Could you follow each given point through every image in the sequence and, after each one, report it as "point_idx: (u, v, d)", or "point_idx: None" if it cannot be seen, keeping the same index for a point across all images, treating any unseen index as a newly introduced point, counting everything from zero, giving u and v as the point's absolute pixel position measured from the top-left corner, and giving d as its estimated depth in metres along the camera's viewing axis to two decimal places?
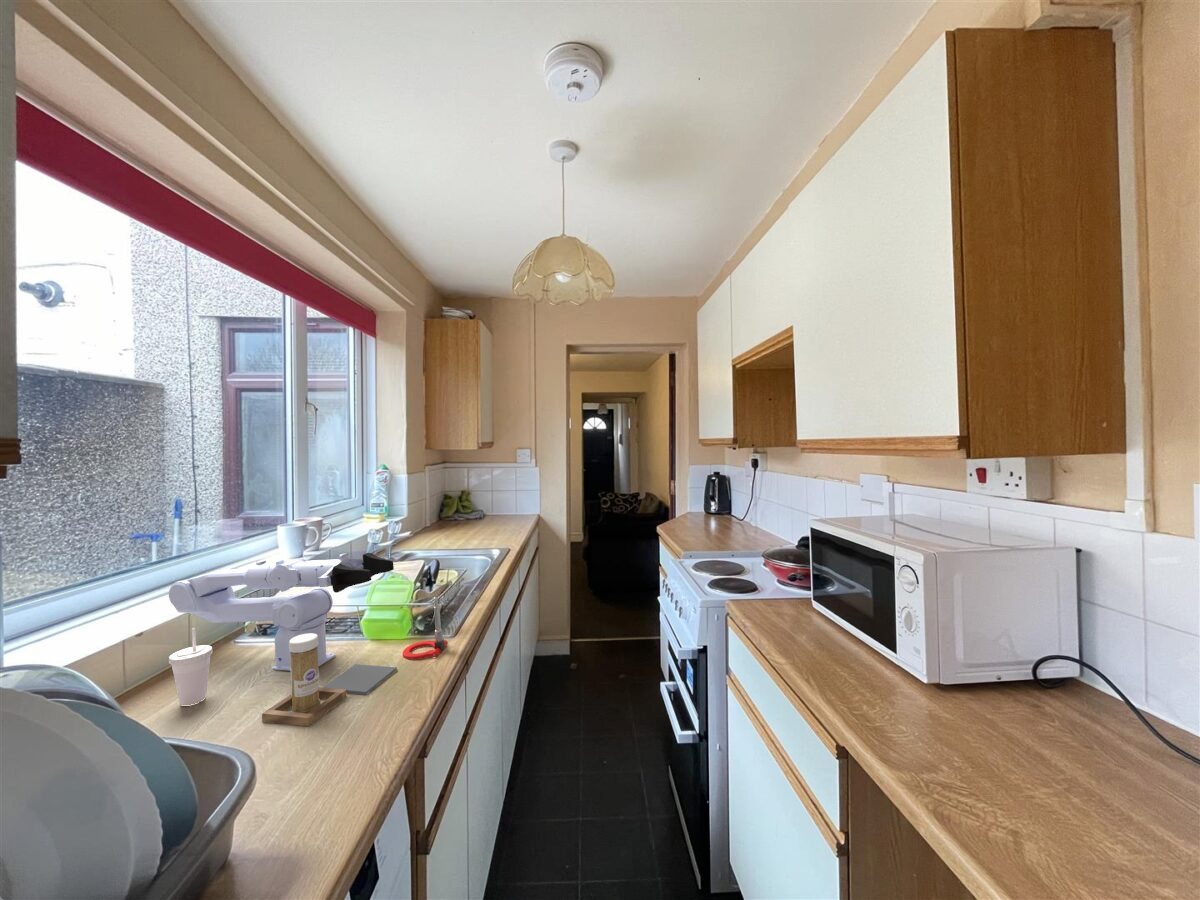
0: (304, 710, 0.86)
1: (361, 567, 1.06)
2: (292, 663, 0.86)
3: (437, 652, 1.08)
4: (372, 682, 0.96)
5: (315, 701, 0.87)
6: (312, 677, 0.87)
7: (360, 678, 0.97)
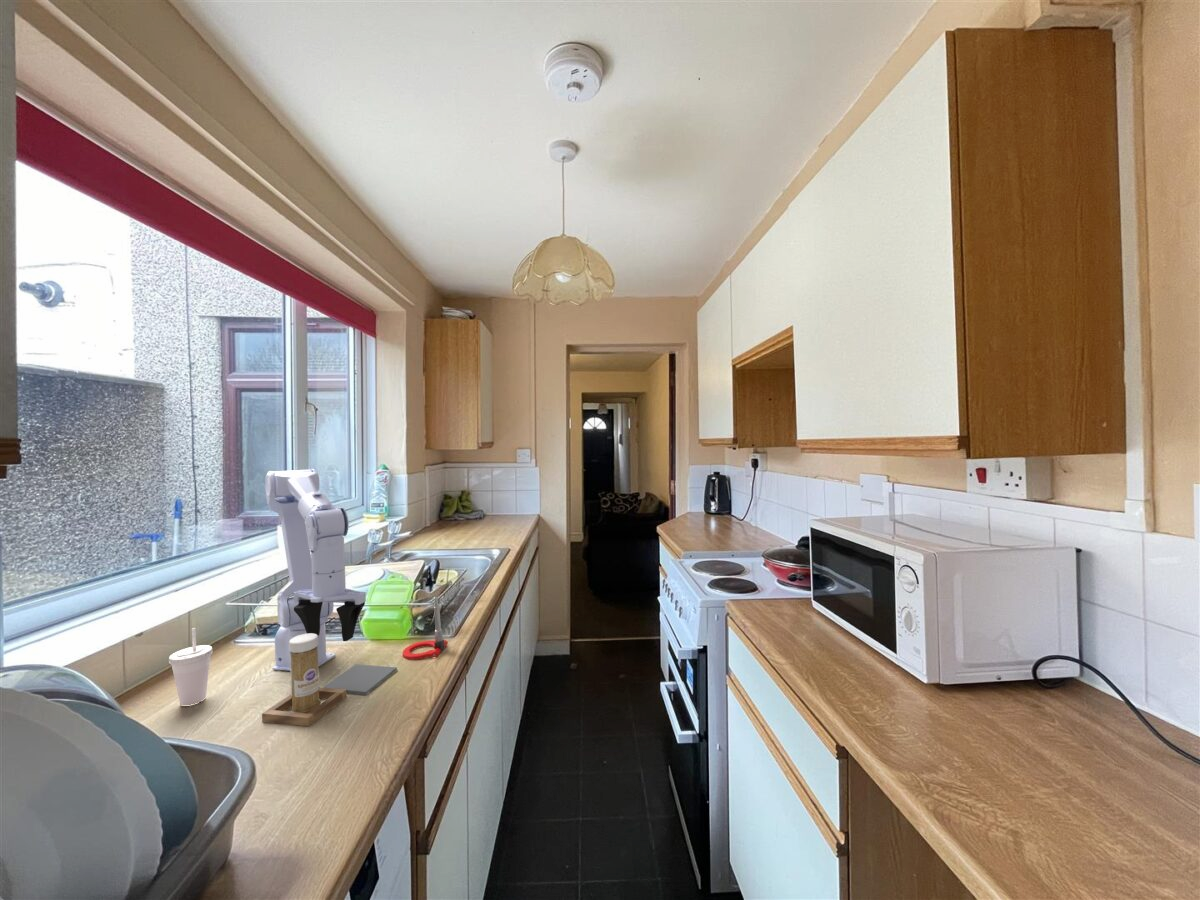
0: (304, 710, 0.86)
1: None
2: (292, 663, 0.86)
3: (437, 652, 1.08)
4: (372, 682, 0.96)
5: (315, 701, 0.87)
6: (312, 677, 0.87)
7: (360, 678, 0.97)
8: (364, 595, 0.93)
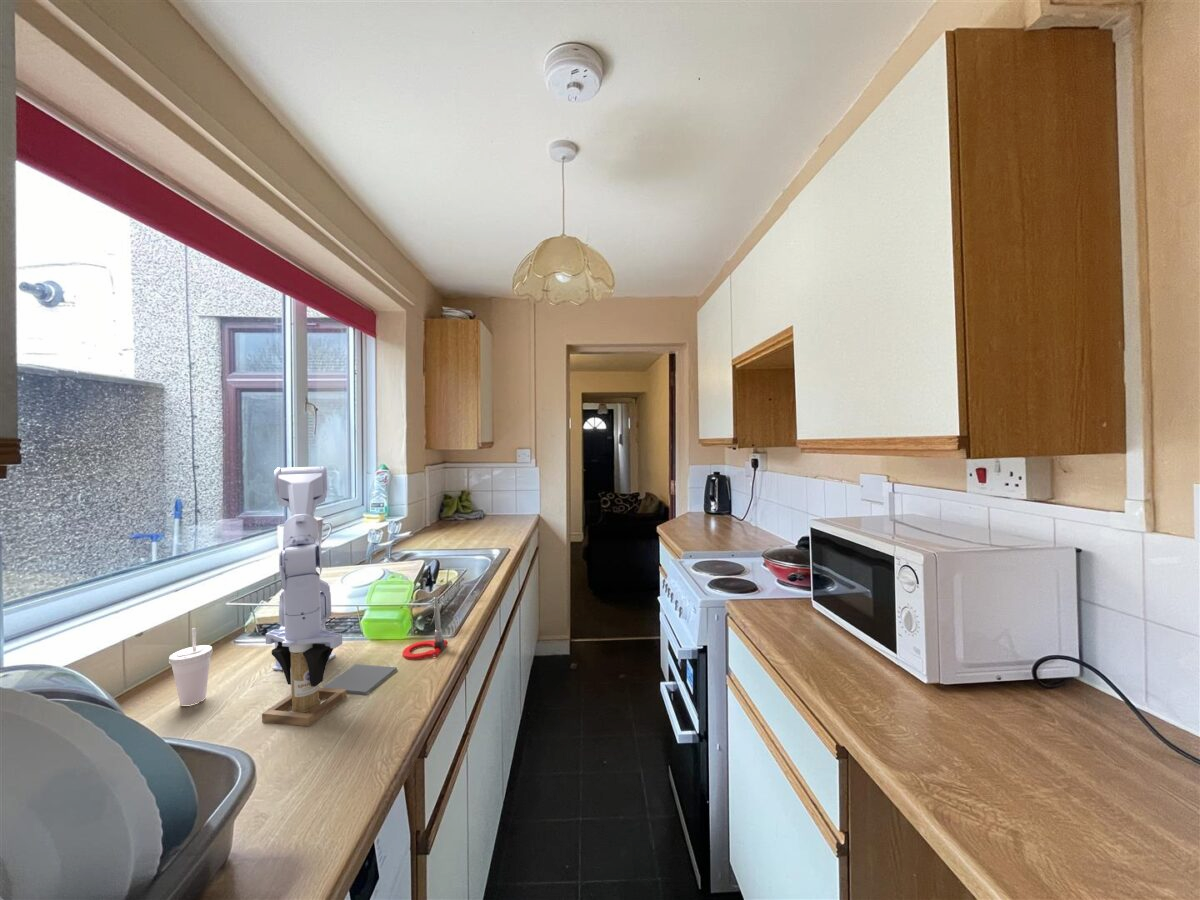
0: (304, 710, 0.86)
1: None
2: (292, 663, 0.86)
3: (437, 652, 1.08)
4: (372, 682, 0.96)
5: (315, 701, 0.87)
6: None
7: (360, 678, 0.97)
8: (340, 637, 0.87)
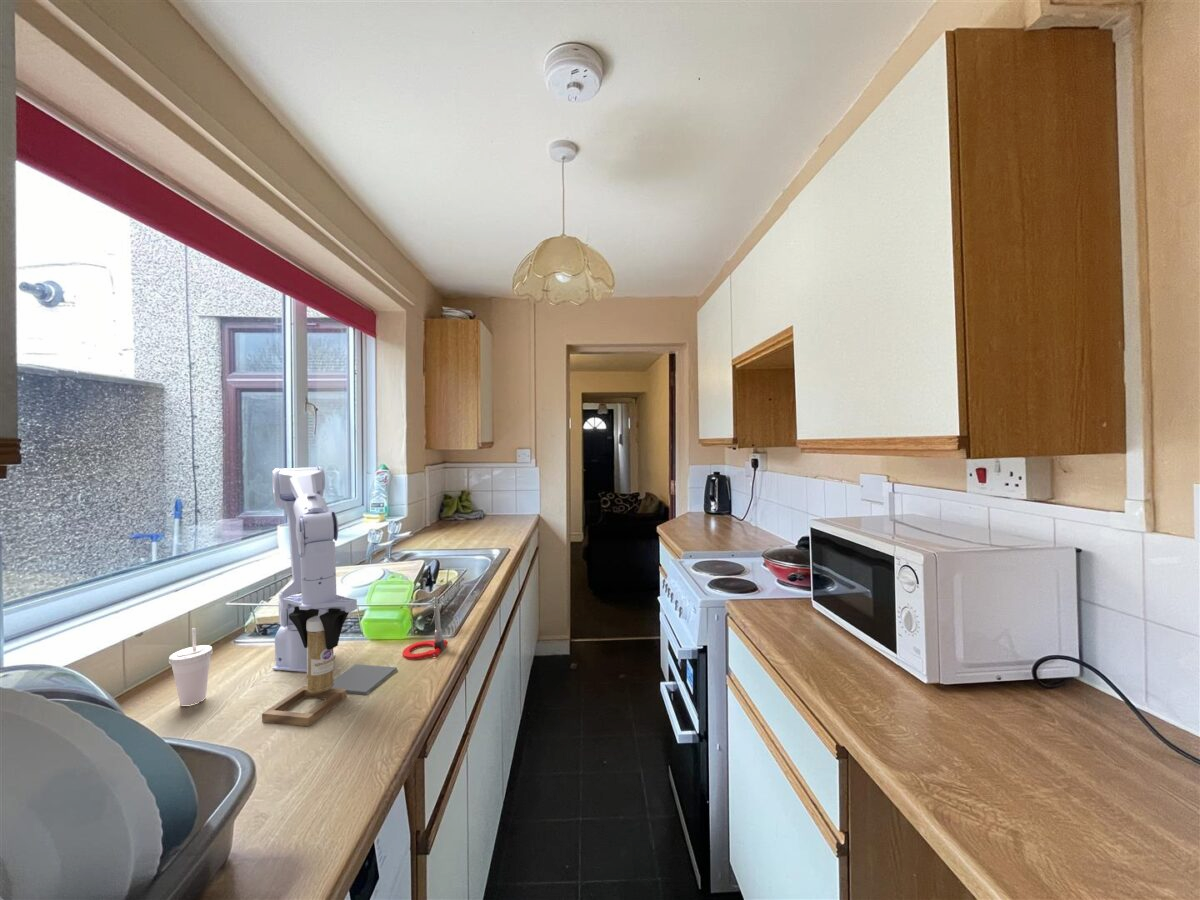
0: (320, 688, 0.88)
1: None
2: (309, 642, 0.88)
3: (437, 652, 1.08)
4: (372, 682, 0.96)
5: (330, 680, 0.90)
6: (328, 656, 0.90)
7: (360, 678, 0.97)
8: (355, 602, 0.89)
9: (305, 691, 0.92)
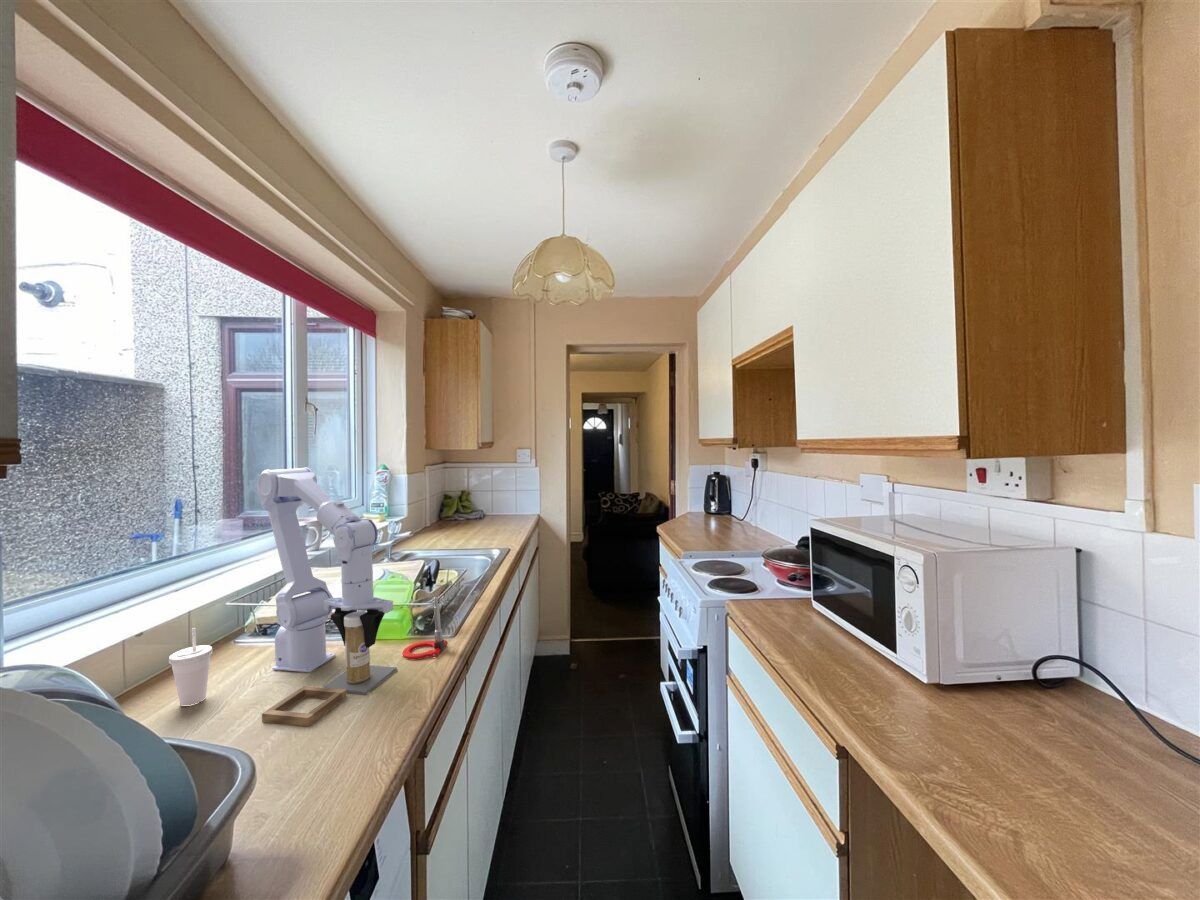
0: (359, 679, 0.95)
1: None
2: (347, 637, 0.95)
3: (437, 652, 1.08)
4: (372, 682, 0.96)
5: (367, 671, 0.97)
6: (365, 649, 0.96)
7: None
8: (391, 603, 0.97)
9: (305, 691, 0.92)
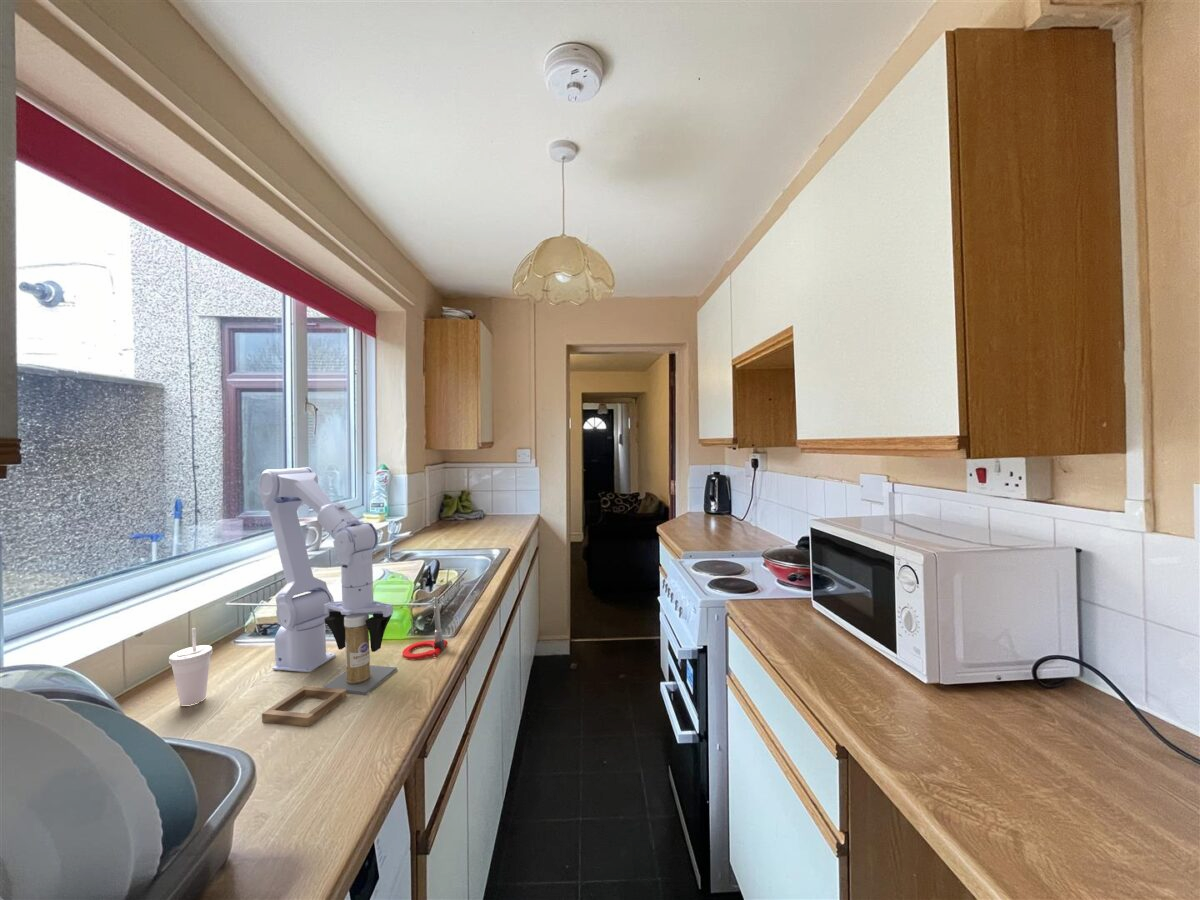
0: (359, 679, 0.95)
1: None
2: (347, 637, 0.95)
3: (437, 652, 1.08)
4: (372, 682, 0.96)
5: (367, 672, 0.97)
6: (365, 649, 0.96)
7: None
8: (391, 607, 0.97)
9: (305, 691, 0.92)
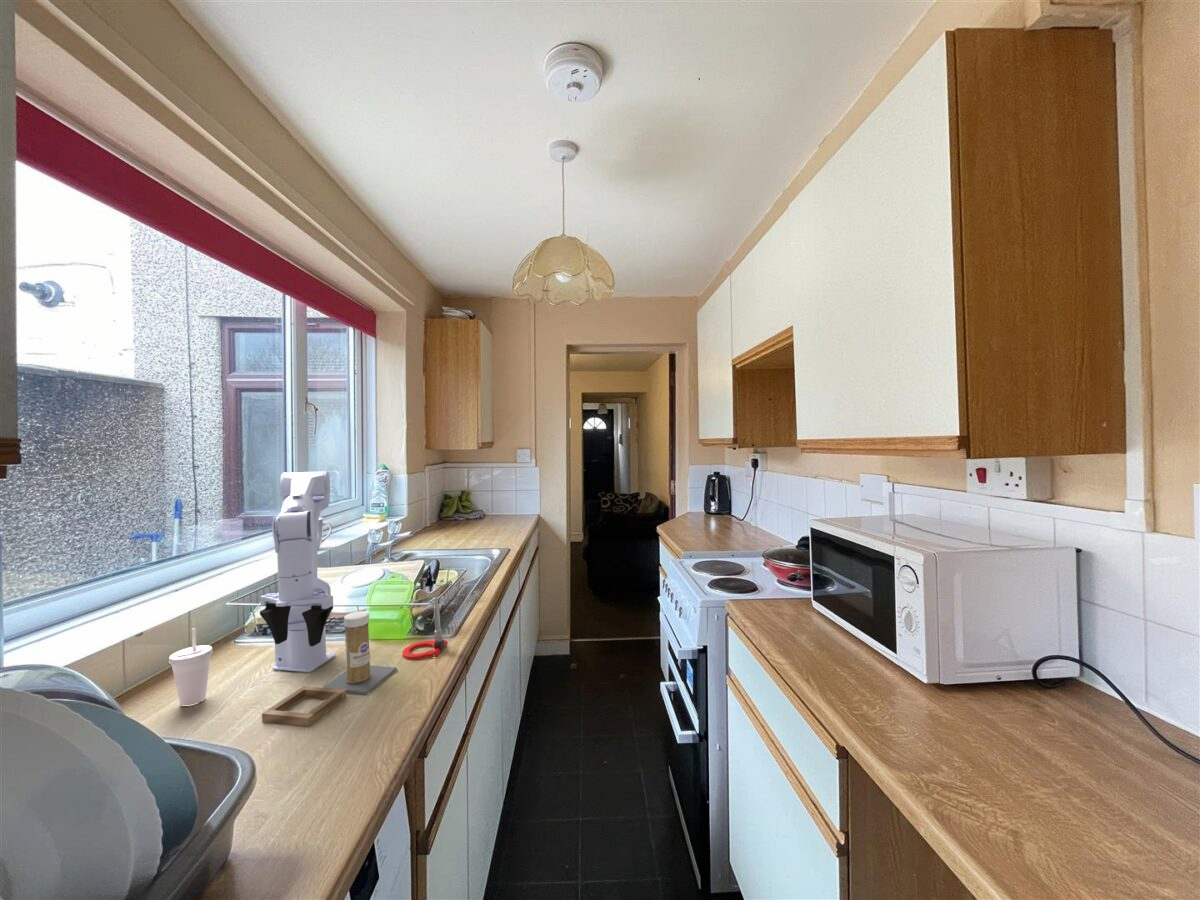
0: (359, 679, 0.95)
1: None
2: (347, 637, 0.95)
3: (437, 652, 1.08)
4: (372, 682, 0.96)
5: (367, 672, 0.97)
6: (365, 649, 0.96)
7: None
8: (331, 599, 0.91)
9: (305, 691, 0.92)
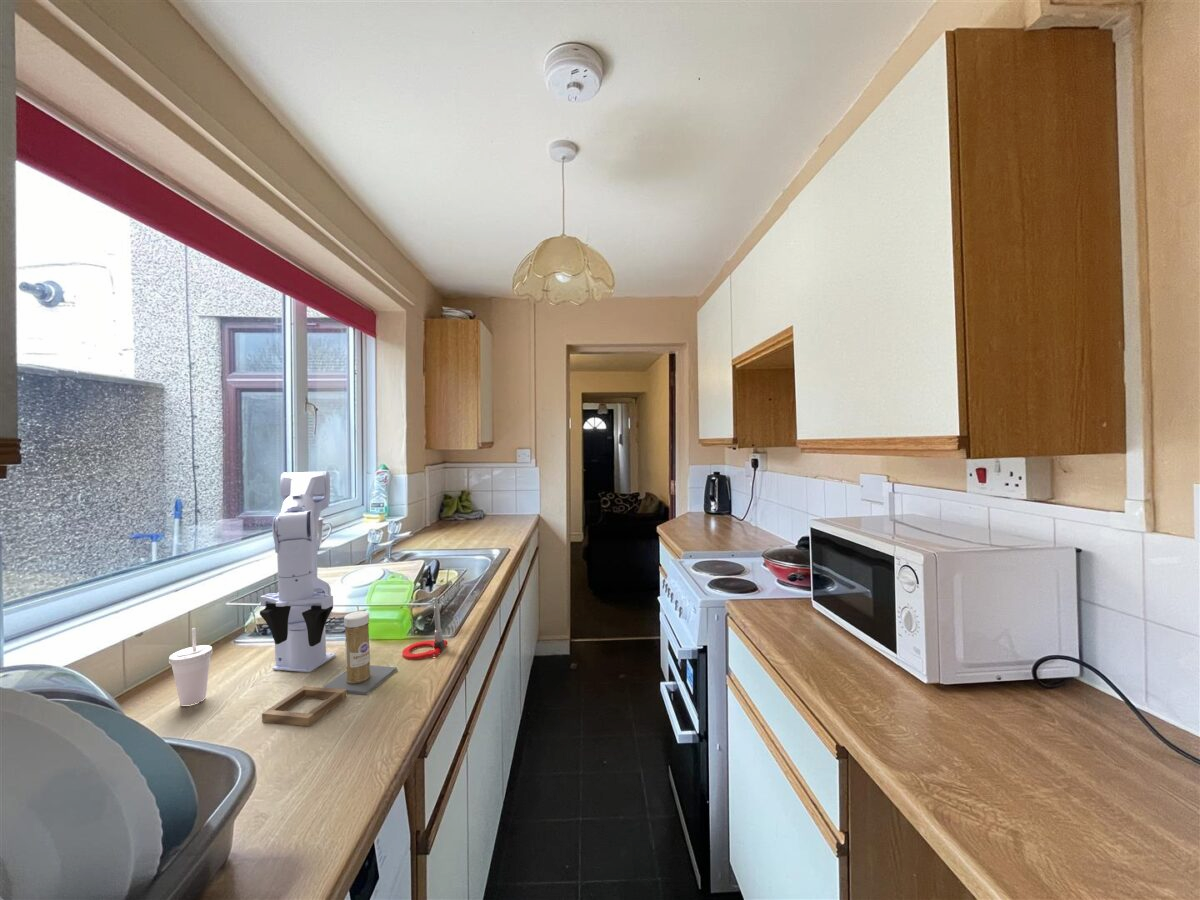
0: (359, 679, 0.95)
1: None
2: (348, 637, 0.95)
3: (437, 652, 1.08)
4: (372, 682, 0.96)
5: (367, 672, 0.97)
6: (365, 649, 0.96)
7: None
8: (331, 599, 0.91)
9: (305, 691, 0.92)
